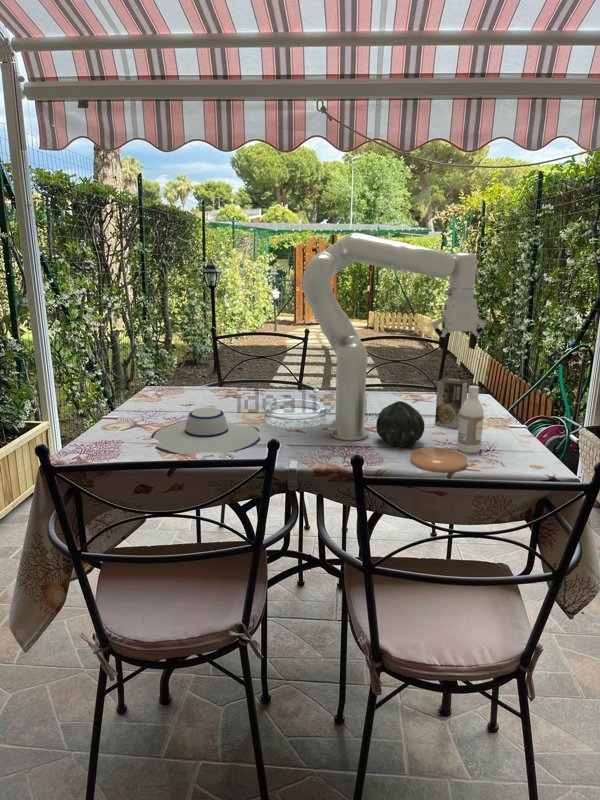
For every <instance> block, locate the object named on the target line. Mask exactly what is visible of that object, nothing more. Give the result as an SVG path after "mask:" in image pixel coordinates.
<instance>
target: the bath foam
mask: <svg viewBox="0 0 600 800" xmlns="http://www.w3.org/2000/svg"><path fill="white" fill-rule="evenodd" d="M479 391H480V386H478V385H469V386H468V390H467V400H466V401H465V402H464V403H463V405H462V407H461V409H460V415H459V427H458V429H457V440H456V448H457V450H459V452H461V453H462V452H463V453H467V454H474V453H478V452H480V451H481V444H482V435H483V425H484V407H483V405H482V403H481V402H480V399H479V393H480V392H479Z"/></svg>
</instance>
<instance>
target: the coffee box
mask: <svg viewBox="0 0 600 800" xmlns="http://www.w3.org/2000/svg"><path fill="white" fill-rule="evenodd" d="M468 385H469V380H464V379H457V378H448V377H442V378H441V379H439V380H437V383H436V403H435V419H434V425H435V426H437V427H445V428H451V429H457V430H458V427H459V415H460V409H461V407H462V405H463V403H464V402H465V401H466V400H467V398H468V390H469V386H468Z"/></svg>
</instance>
